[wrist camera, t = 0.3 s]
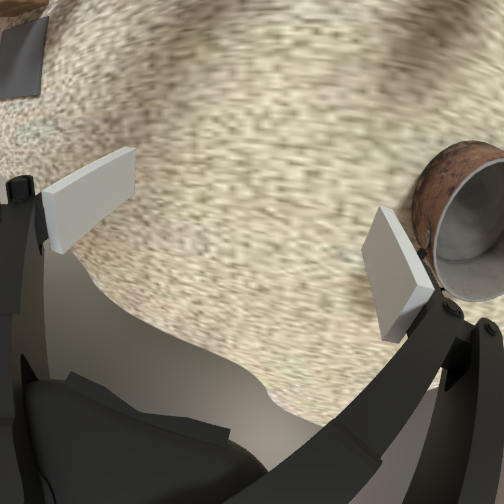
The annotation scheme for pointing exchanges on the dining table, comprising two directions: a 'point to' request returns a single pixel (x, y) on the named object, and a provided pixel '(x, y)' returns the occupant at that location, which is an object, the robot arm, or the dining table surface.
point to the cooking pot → (463, 220)
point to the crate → (19, 6)
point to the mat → (22, 59)
